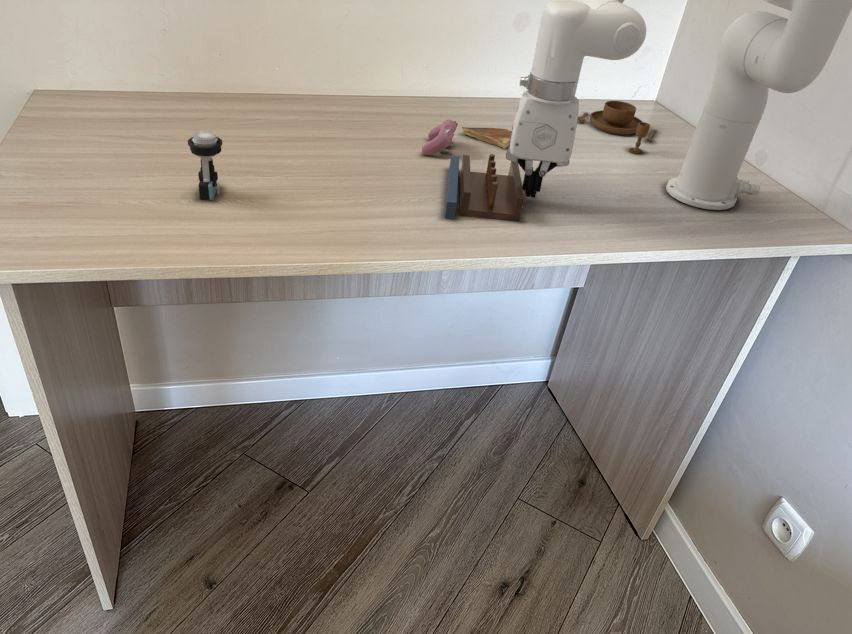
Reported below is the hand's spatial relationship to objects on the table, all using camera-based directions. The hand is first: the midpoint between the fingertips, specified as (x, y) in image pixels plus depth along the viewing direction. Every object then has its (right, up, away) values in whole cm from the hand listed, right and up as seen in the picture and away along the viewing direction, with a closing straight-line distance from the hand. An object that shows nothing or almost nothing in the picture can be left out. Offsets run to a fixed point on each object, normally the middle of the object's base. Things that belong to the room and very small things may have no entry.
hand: (529, 194), depth 120 cm
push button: (-55, -1, -6) cm, 55 cm away
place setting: (+25, +21, +33) cm, 47 cm away
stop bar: (-14, 0, +1) cm, 14 cm away
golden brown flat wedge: (-3, +16, +23) cm, 28 cm away
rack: (-7, 0, +1) cm, 7 cm away
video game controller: (-15, +13, +17) cm, 26 cm away
